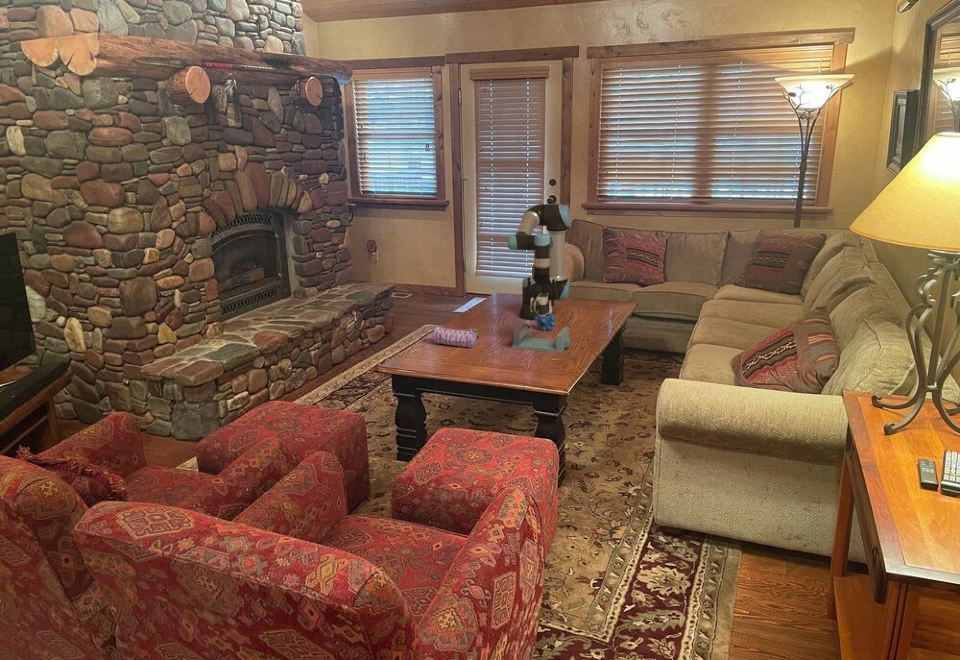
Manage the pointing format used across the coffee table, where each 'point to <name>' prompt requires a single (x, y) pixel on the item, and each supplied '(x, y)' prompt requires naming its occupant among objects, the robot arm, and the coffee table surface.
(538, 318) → the blue knobbly thick disc
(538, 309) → the camera
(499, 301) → the coffee table surface
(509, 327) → the coffee table surface
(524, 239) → the robot arm
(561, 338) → the vise
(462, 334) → the pencil case
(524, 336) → the sliding jaw
